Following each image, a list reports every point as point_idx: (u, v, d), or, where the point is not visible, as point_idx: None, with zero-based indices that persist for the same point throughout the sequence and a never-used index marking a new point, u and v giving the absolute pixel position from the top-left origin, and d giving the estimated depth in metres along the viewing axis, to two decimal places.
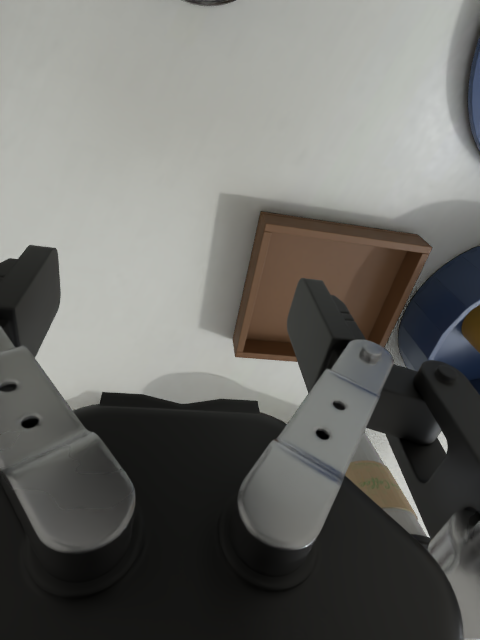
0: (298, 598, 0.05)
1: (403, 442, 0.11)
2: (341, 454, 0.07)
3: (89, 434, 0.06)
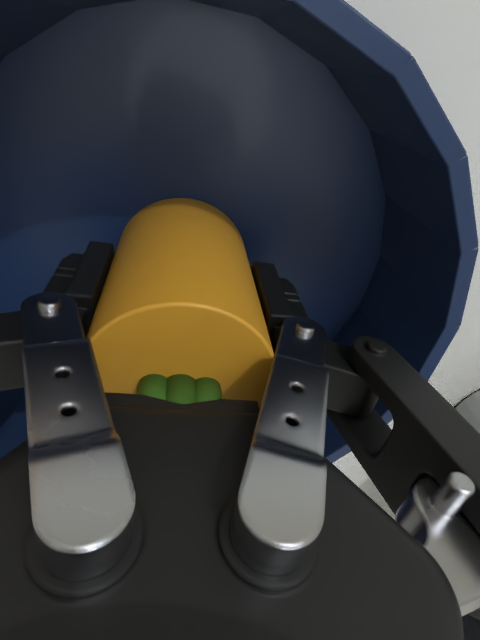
0: (298, 598, 0.05)
1: (346, 419, 0.11)
2: (314, 436, 0.07)
3: (113, 435, 0.06)
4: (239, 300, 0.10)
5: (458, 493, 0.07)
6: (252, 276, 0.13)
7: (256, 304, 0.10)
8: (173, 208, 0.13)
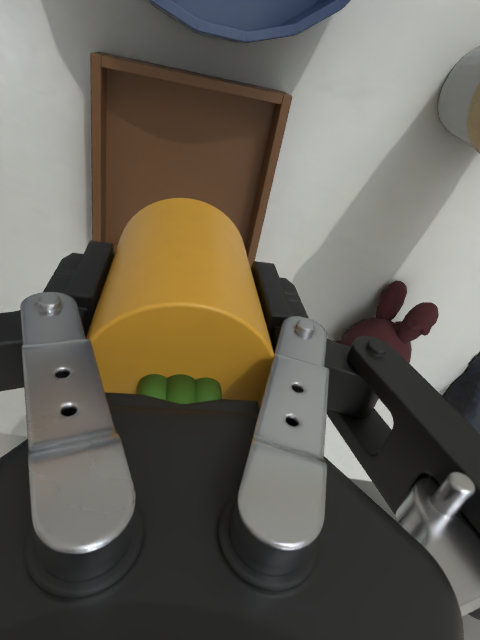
0: (298, 598, 0.05)
1: (346, 420, 0.11)
2: (314, 436, 0.07)
3: (114, 435, 0.06)
4: (240, 300, 0.10)
5: (458, 493, 0.07)
6: (252, 276, 0.13)
7: (256, 304, 0.10)
8: (173, 208, 0.13)
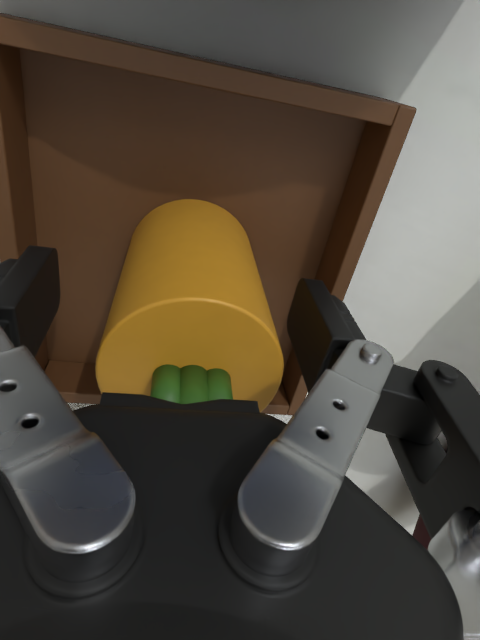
0: (298, 598, 0.05)
1: (403, 442, 0.11)
2: (341, 454, 0.07)
3: (89, 434, 0.06)
4: (249, 296, 0.10)
5: None
6: None
7: (264, 301, 0.11)
8: (184, 209, 0.14)
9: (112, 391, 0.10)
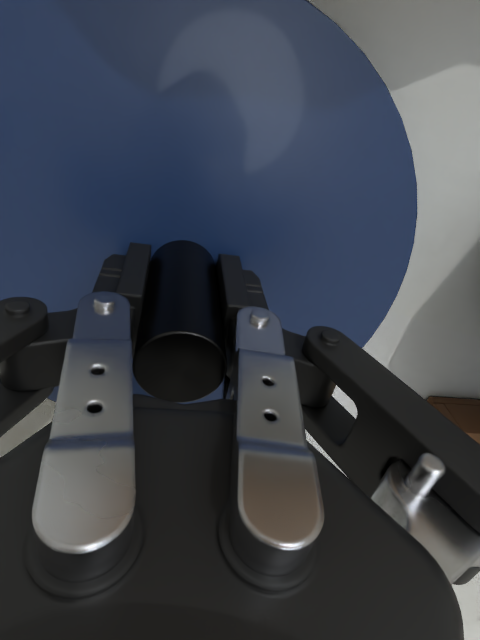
0: (298, 597, 0.05)
1: (308, 411, 0.11)
2: (294, 427, 0.07)
3: (129, 439, 0.06)
4: None
5: (431, 474, 0.07)
6: None
7: None
8: None
9: None
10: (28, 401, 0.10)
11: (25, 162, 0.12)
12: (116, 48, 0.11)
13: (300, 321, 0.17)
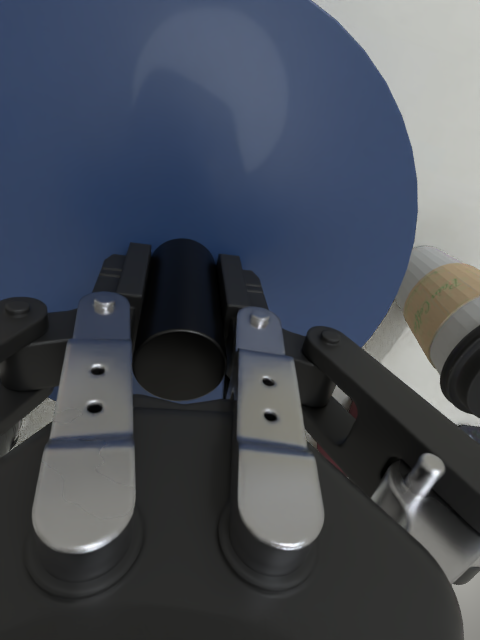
0: (298, 598, 0.05)
1: (308, 411, 0.11)
2: (295, 428, 0.07)
3: (129, 439, 0.06)
4: None
5: (431, 474, 0.07)
6: None
7: None
8: None
9: None
10: (28, 401, 0.10)
11: (24, 160, 0.12)
12: (116, 45, 0.11)
13: (300, 320, 0.17)
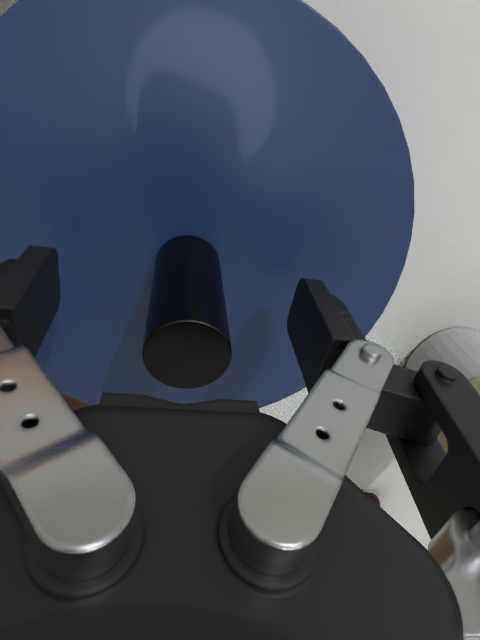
0: (298, 597, 0.05)
1: (403, 442, 0.11)
2: (341, 454, 0.07)
3: (89, 434, 0.06)
4: None
5: None
6: None
7: None
8: None
9: None
10: None
11: (38, 159, 0.13)
12: (127, 50, 0.11)
13: None
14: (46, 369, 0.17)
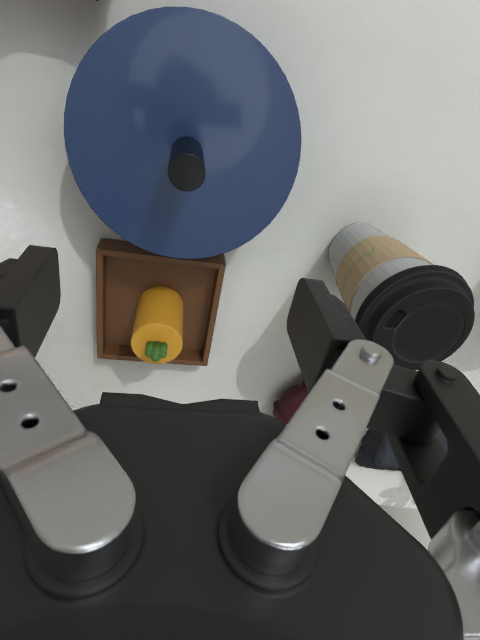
0: (298, 598, 0.05)
1: (403, 442, 0.11)
2: (341, 454, 0.07)
3: (89, 434, 0.06)
4: (171, 322, 0.38)
5: None
6: (180, 313, 0.41)
7: (178, 323, 0.39)
8: (156, 291, 0.41)
9: (135, 348, 0.38)
10: None
11: (118, 94, 0.28)
12: (160, 44, 0.26)
13: (247, 187, 0.32)
14: (110, 217, 0.32)
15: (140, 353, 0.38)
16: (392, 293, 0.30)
